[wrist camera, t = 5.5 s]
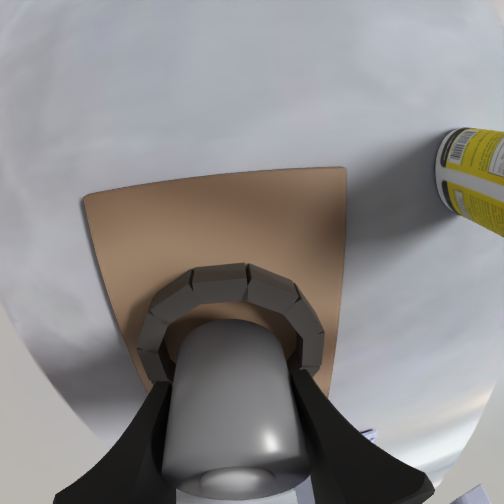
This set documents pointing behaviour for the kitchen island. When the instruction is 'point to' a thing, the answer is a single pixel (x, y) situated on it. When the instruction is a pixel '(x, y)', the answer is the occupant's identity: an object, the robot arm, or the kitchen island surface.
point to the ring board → (225, 262)
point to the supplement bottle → (473, 176)
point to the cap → (233, 416)
